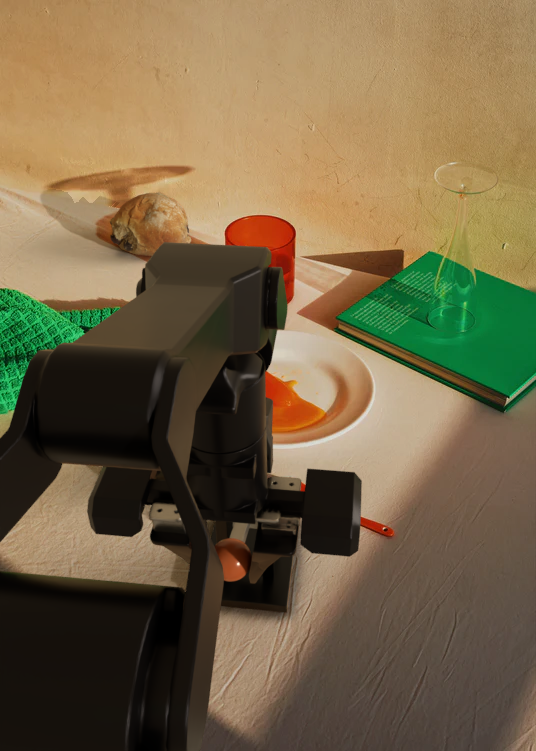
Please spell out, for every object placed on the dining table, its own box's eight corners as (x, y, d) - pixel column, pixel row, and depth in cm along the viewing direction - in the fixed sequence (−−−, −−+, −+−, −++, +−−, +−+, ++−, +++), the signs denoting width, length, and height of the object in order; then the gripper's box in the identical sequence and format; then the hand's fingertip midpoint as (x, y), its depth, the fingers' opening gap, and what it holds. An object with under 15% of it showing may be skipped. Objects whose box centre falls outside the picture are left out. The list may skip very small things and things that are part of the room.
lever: (248, 591, 55) (249, 552, 54) (205, 587, 55) (206, 548, 54) (267, 519, 66) (268, 486, 65) (232, 516, 66) (232, 483, 66)
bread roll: (181, 281, 119) (208, 229, 115) (106, 255, 113) (130, 199, 109) (172, 246, 129) (196, 197, 124) (101, 221, 123) (124, 168, 118)
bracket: (286, 613, 65) (287, 543, 59) (197, 604, 65) (189, 534, 60) (297, 526, 73) (298, 457, 67) (217, 519, 73) (212, 450, 68)
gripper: (369, 360, 53) (355, 509, 62) (117, 344, 55) (141, 491, 64) (366, 468, 44) (351, 622, 54) (67, 445, 46) (103, 598, 56)
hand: (232, 576), depth 57 cm, fingers closed on lever, 3 cm apart
